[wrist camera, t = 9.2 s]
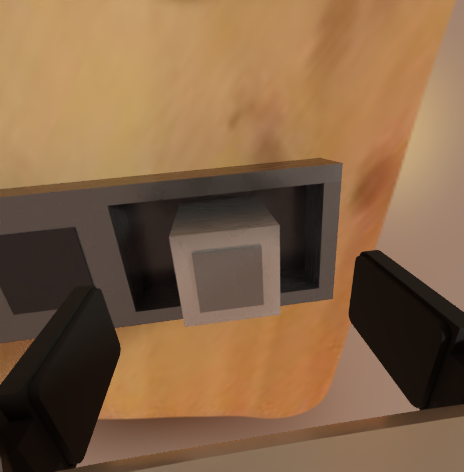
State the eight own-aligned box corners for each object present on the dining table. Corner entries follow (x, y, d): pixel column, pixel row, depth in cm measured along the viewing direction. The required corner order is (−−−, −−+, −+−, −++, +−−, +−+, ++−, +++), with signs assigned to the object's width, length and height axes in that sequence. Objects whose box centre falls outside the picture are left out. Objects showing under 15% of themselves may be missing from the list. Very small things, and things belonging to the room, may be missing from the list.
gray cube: (179, 203, 17) (168, 238, 11) (255, 195, 18) (280, 226, 12) (190, 270, 19) (184, 329, 13) (258, 262, 19) (281, 316, 14)
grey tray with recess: (-33, 192, 16) (-84, 206, 13) (320, 158, 17) (343, 163, 15) (23, 313, 19) (-8, 345, 16) (315, 276, 21) (333, 299, 18)
